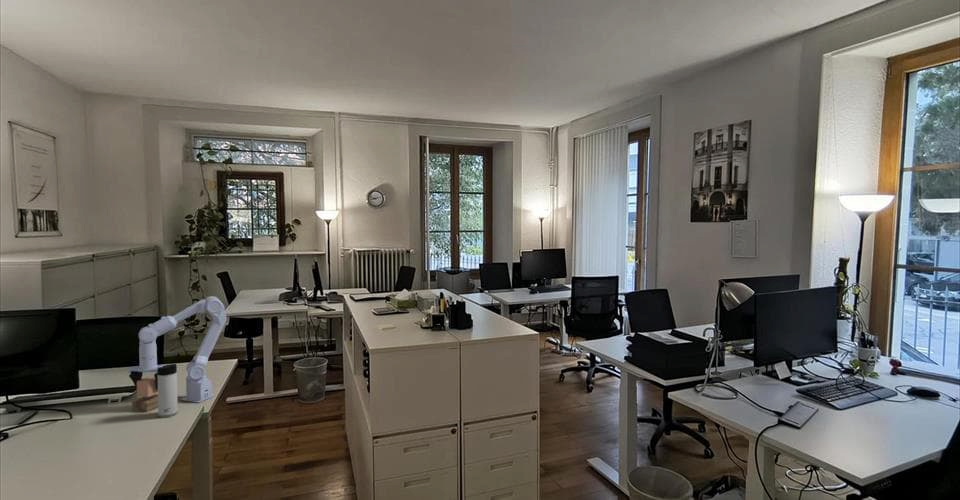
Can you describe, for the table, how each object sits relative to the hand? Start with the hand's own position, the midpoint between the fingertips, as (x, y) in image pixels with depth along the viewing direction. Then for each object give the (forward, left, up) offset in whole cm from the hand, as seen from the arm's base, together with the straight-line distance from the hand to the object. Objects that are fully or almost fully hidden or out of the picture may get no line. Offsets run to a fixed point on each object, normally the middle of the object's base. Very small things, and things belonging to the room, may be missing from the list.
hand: (148, 389), depth 183 cm
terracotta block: (0, 0, -2) cm, 2 cm away
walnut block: (0, 0, -8) cm, 8 cm away
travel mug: (-14, +3, -8) cm, 16 cm away
